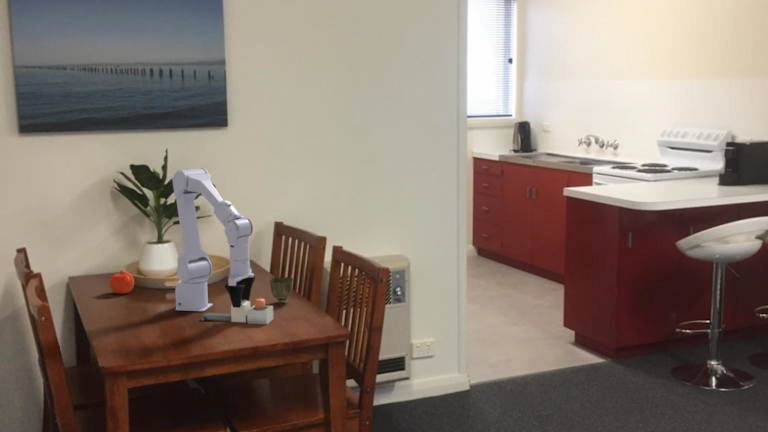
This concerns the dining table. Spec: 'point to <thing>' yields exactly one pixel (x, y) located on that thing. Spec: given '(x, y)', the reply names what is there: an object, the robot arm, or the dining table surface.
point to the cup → (281, 288)
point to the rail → (216, 317)
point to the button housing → (260, 315)
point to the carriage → (240, 312)
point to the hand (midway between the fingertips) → (241, 303)
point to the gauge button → (259, 303)
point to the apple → (121, 283)
